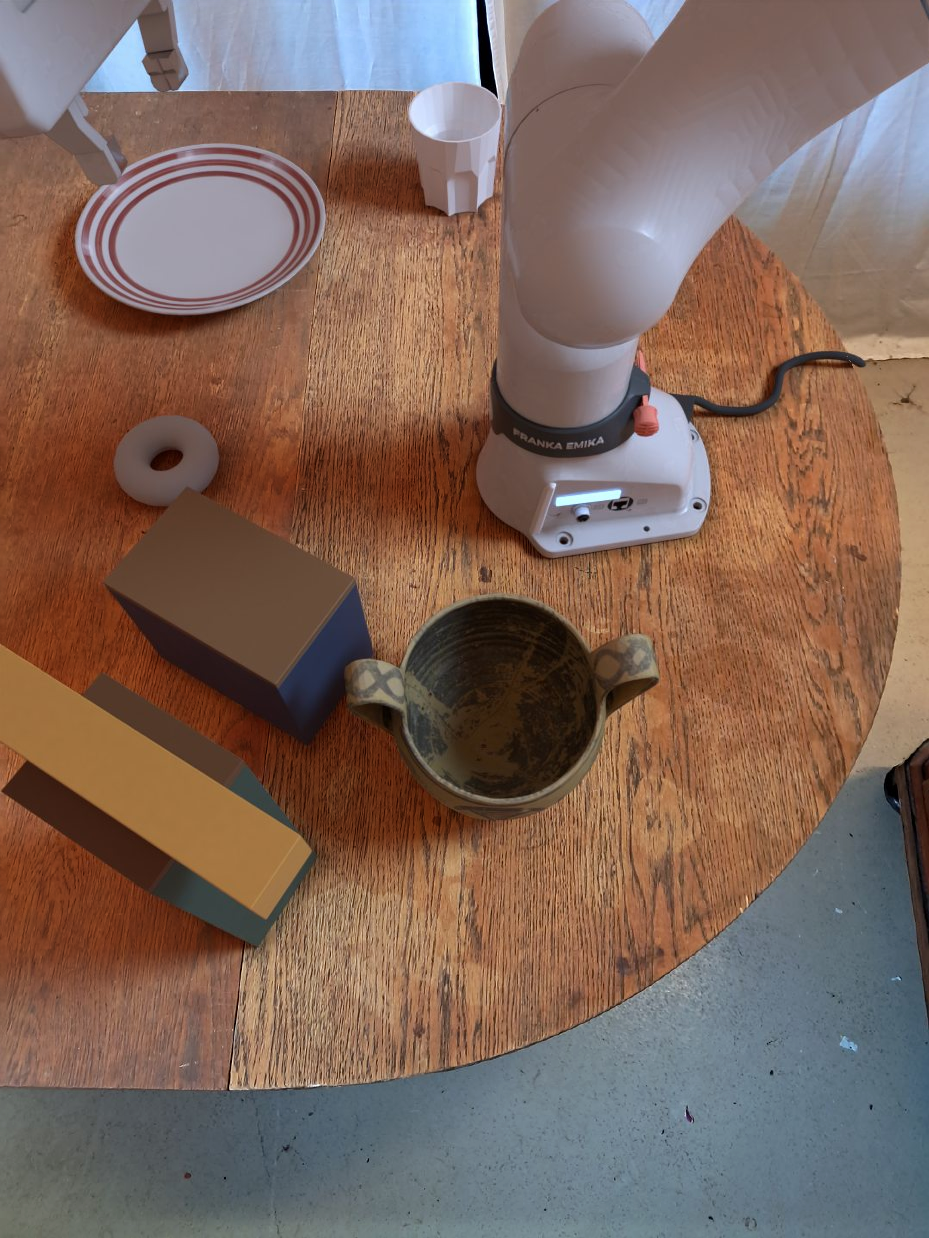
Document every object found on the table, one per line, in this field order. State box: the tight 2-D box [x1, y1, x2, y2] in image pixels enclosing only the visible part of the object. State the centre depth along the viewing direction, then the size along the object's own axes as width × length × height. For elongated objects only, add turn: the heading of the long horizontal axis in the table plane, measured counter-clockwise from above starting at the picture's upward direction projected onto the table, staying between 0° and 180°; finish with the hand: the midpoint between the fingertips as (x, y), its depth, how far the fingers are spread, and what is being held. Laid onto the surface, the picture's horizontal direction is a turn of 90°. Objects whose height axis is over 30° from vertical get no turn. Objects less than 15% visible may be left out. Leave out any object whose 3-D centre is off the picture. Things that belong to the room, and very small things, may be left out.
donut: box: [112, 414, 220, 507], centre depth 86 cm, size 10×4×10 cm
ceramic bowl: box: [344, 592, 661, 822], centre depth 69 cm, size 22×17×15 cm
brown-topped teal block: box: [0, 671, 319, 948], centre depth 59 cm, size 10×8×26 cm
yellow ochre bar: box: [0, 643, 312, 920], centre depth 47 cm, size 26×4×4 cm, turn 59°
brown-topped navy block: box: [102, 487, 375, 747], centre depth 73 cm, size 16×10×14 cm, turn 59°
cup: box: [407, 80, 503, 217], centre depth 100 cm, size 10×10×10 cm
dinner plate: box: [74, 142, 326, 316], centre depth 100 cm, size 28×27×3 cm
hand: (144, 129), depth 50 cm, fingers open, 8 cm apart
